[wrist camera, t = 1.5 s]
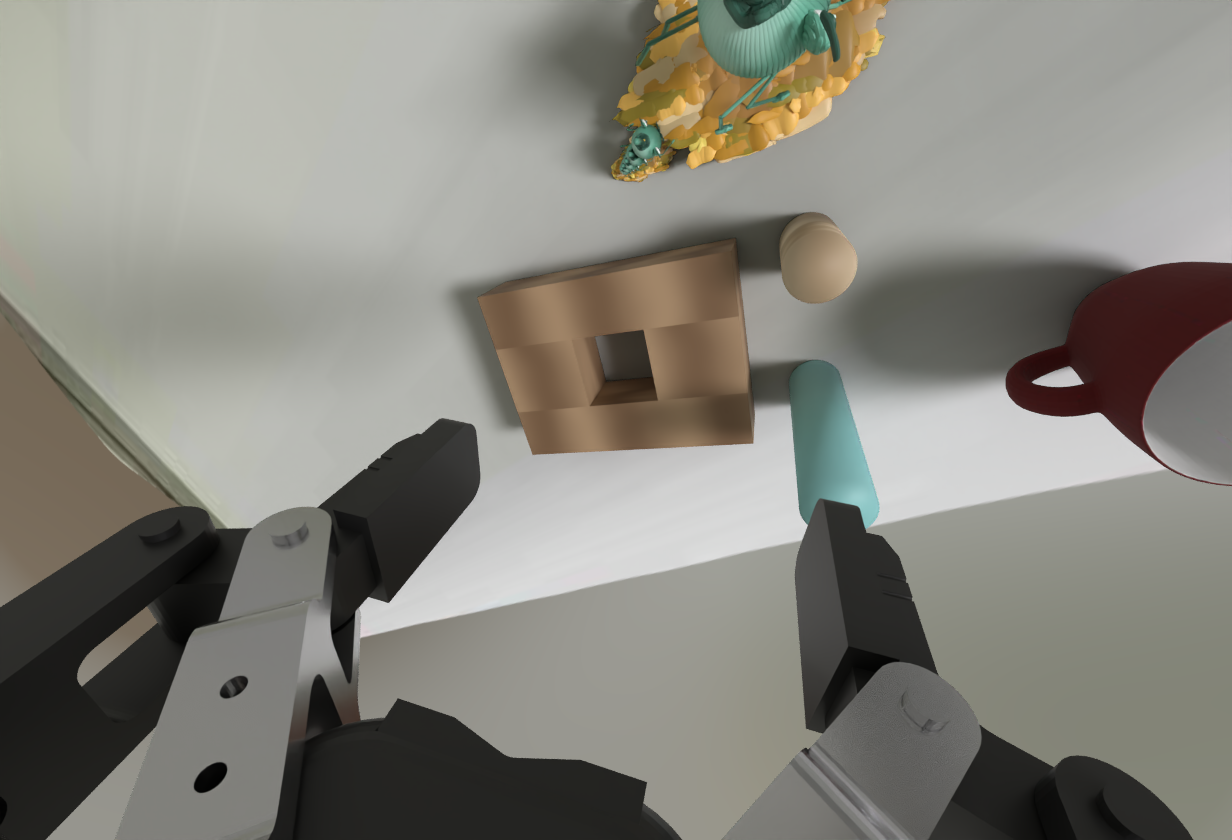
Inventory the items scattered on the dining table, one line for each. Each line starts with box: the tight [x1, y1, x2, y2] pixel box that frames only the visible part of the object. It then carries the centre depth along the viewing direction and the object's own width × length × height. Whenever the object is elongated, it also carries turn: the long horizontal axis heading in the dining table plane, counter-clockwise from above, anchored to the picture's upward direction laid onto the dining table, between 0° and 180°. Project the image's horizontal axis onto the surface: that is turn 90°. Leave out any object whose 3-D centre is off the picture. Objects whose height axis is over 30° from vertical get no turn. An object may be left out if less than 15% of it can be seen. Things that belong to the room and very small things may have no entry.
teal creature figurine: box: [610, 0, 889, 182], centre depth 19 cm, size 10×18×15 cm, turn 116°
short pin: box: [779, 212, 857, 304], centre depth 25 cm, size 3×3×7 cm
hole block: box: [477, 238, 755, 455], centre depth 32 cm, size 16×12×4 cm
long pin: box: [789, 360, 879, 529], centre depth 26 cm, size 3×3×13 cm
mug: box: [1006, 262, 1232, 486], centre depth 22 cm, size 10×8×10 cm
